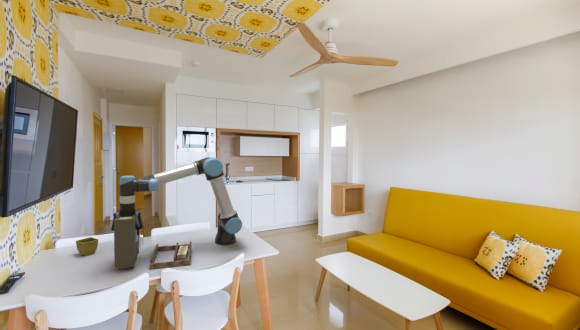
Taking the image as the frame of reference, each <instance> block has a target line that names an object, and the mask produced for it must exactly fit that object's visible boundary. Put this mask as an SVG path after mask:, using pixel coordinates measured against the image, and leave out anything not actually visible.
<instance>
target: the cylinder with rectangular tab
mask: <svg viewBox="0 0 580 330" xmlns="http://www.w3.org/2000/svg"><path fill="white" fill-rule="evenodd" d="M142 246H144V235H143V234H141V233H140V234H139V248H140V247H142Z"/></svg>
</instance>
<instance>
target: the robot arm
mask: <svg viewBox="0 0 580 330" xmlns="http://www.w3.org/2000/svg"><path fill="white" fill-rule="evenodd" d="M194 175H197V176H200V175H204V176H205V178H206V181H207V182H209V183H210V186H211V188H212V191H213V195H214V197H215V200H216V204H217V205H218V210H219V211H218V212H217V232H216V235H215V238H214V244H217V245H221V246H223V245H224V246H227V245H228V246H229V245H232V244H235V243H236V241H237V238H236V234H237V233H239V232H240V231H241V229H242V228H243V222H242V219H240V217H239V215H238V213H237V210H235V209H234V207H233V204H232V200H231V199H230V195H229V193H228V189H227V187H226V183H225V180H224V176H225V174H224V165H223V163H222V161H221V160H220V159H218V158H216V157H210V156H209V157H207V156H206V157H204V158H201V159H199V160H195V161H193V162H192V163H190V164H186V165H183V166H180V167H176V168H173V169H169V170H165V171H161V172H159V173H155V174H151V175H145V176H141V178H140V179H139V178H136V177H135V176H134V175H121V176H120V177H119V211H118V212H114V213H113V218H112V219H113V220H112V222H111V223H112V225H111V228H110V230H111V231H113V232H114V219H115V218H116V217H117V216H118V215H121V217H128V216H129V217H132V216H133V215H134V214H137V216H138V221H139V225H138V223H137V222H136V242H137V240H138V235H139V234H140V235H141V230H143V228H144V224H143V220H142V216H141V215H142V211H140V210H139V212H136V193H138V192H139V193H141V192H142V193H143V192H144V193H145V192H146V193H147V192H151V193H152V192H158V189H159V186H161V185H165V184H168V183H170V182H175V181H178V180H181V179H184V178H187V177H191V176H194Z"/></svg>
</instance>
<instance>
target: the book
mask: <svg viewBox="0 0 580 330" xmlns="http://www.w3.org/2000/svg"><path fill="white" fill-rule="evenodd" d="M135 211H136V212H140V208H135ZM113 219H114V218H113ZM136 222H137V223H138V225H139V221H138V216H137V214H134V215H133V216H132V217H129V216H128V217H121V215H118V216H117V217H116V218H115V219H114V231H113V241H114V242H113V243H114V244H113V247H114V249H113V250H114V259H113V260H114V270H115V269H116V270H117V269H119V270H120V269H127V268H132V267H135V265H136V261H137V257H138V255H139V254H140V247H139V235H138V240H137V242H136ZM139 226H140V225H139Z"/></svg>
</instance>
